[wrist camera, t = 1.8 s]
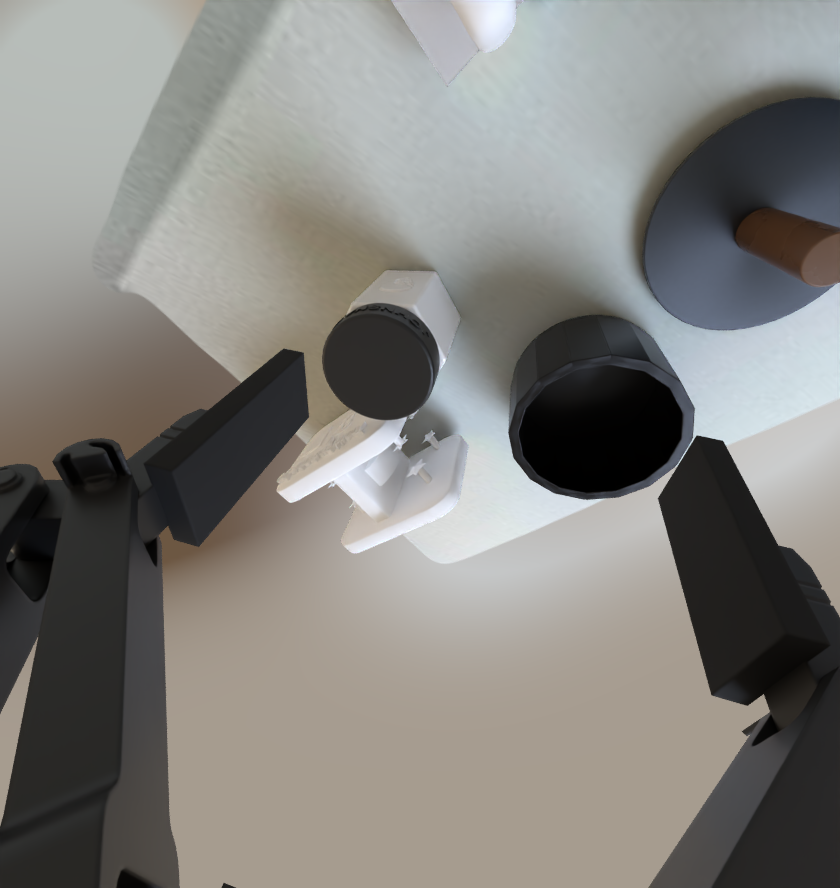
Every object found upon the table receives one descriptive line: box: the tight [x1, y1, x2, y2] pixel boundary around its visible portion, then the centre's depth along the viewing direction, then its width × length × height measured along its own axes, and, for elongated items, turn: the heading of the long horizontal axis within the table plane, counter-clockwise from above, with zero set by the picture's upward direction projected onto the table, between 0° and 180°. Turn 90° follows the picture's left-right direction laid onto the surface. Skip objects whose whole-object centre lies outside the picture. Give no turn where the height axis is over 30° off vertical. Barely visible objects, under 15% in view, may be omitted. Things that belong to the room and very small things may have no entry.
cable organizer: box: [277, 409, 469, 553], centre depth 43 cm, size 15×11×12 cm
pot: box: [508, 315, 695, 500], centre depth 37 cm, size 13×13×8 cm
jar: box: [322, 270, 461, 420], centre depth 34 cm, size 9×8×12 cm
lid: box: [643, 97, 840, 330], centre depth 27 cm, size 14×14×10 cm
